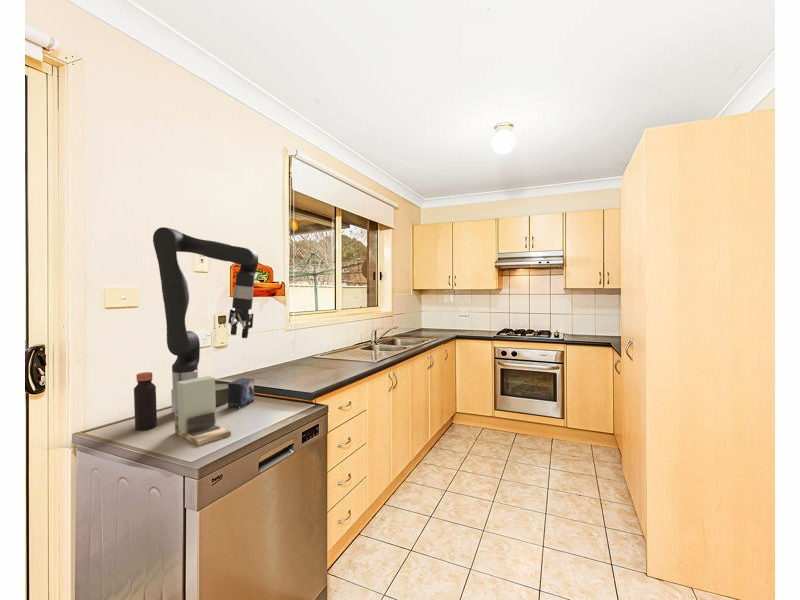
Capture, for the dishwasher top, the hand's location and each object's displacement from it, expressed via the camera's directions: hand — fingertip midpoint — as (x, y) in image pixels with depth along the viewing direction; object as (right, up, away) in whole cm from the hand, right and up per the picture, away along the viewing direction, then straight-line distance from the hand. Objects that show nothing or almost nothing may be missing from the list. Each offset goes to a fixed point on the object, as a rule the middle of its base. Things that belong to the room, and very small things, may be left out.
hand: (238, 336), depth 162 cm
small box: (-3, -31, +11) cm, 33 cm away
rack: (-3, -32, -23) cm, 40 cm away
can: (-16, -31, +14) cm, 38 cm away
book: (-6, -31, -20) cm, 37 cm away
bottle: (-27, -32, -17) cm, 45 cm away
